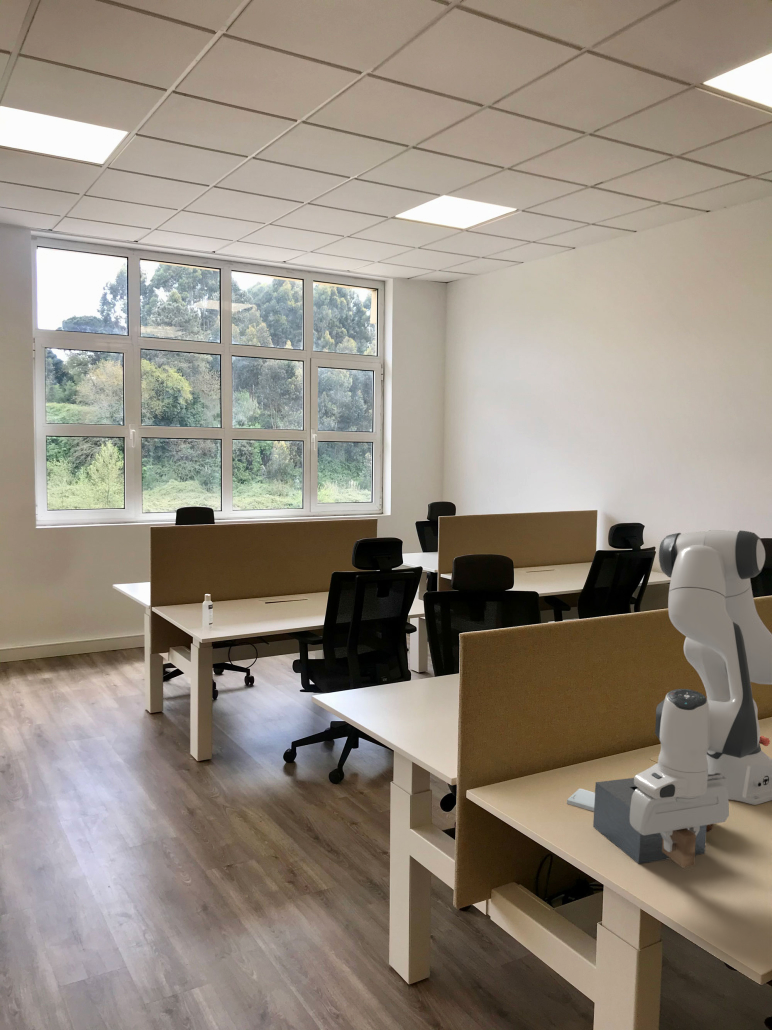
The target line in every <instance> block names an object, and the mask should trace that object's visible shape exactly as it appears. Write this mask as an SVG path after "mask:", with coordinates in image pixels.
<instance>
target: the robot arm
mask: <svg viewBox="0 0 772 1030" xmlns="http://www.w3.org/2000/svg"><path fill="white" fill-rule="evenodd" d="M657 557H658V563H659V566H660V569H661V571H662V573H663V574H664V575H666V576H667V577H668V578H670V582H669V589H668V599H667V600H668V603H667V608H668V611H667V612H668V617H669V620H670V623H671V624H672V625H673V627H674V628H675V629H676V630H677V631H678V632H680V633H681V634H682V635H683V636H685V639H684V643H683V654H684V656H685V658H686V660H687V662H688V663H689V664H690V666H692V667H693V669H694V670H695V671H696V673H697V674H698V675H699V677H700V679H701V682H702V684H703V686H704V689H705V693H706V696H705V695H704V694H703V693H701V692H699V691H696V690H694V689H690V688H689V689H687V688H678V689H676V688H675V689H673V690H670V691H669V692H667V693H666V695H665V698H664V699H663V700H662V701H660V703H658V704H657V705H656V708H655V709H656V710H655V728H654V729H655V730H654V734H655V735H656V737H657V739H658V740H659V742H660V752H659V754H658V757H657V758H658V759H657V763H655V764H653V765H652V766H650V767H648V768H646V769H645V770H643V771H641V772H638V773H637V774H635V776H634V777H633V778H634V785H635V786H637V787H638V788H637V789H636V790H635V791H634V793H633V795H632V799H631V806H630V824H631V826H632V827H633V828H634V829H635V830H636V831H637V832H639V833H640V834H642V835H650V834H656V833H660V834H661V836H662V838H663V839H664V849H665V850H666V851H668V852H672V851H676V842H675V841H673V840H672V839H671V837H670V836H671V835H672V834H673V830H679V829H685V828H688V830H690V831H691V832H692V833H694V834H695V835H696V836H697V834H698V832H699V830H700V826H703V825H709V824H713V825H714V824H720V823H725V822H726V821H727V819H728V818H729V816H730V807H729V806H730V805H729V804H730V803H729V802H730V801H729V800H732V801H737V802H741V803H746V804H749V805H753V806H754V805H759V804H763V803H766V802H770V801H772V758H771V757H770V756H769V755H768V754H766V753H765V752H764V751H763V750H762V748H761V745H763V746H764V747H768V746H769V745H770V743H771V740H770V738H768V737H765V736H764V735H761V727H760V722H759V718H758V709H759V708H758V706H757V702H756V701H755V699H754V697H753V690H752V683H755V684H757V685H772V633H771V632H770V631H769V628H767V627H766V625H765V624H764V622H763V621H762V619H761V618H760V616H759V614H758V611H757V608H756V603H755V600H754V595H753V594H754V593H753V590H752V589H753V588H752V583H751V578H755V577H757V576H758V575H759V574H760V573H761V572H762V570H763V567H764V565H765V561H766V550H765V547H764V544H763V542H762V538H761V537H760V536H758V535H757V534H756V533H755V532H753V531H748V530H739V531H734V530H717V529H713V530H707V531H693V532H685V533H681V532H678V533H672V534H669V535H666V536H664V538H663V539H662V540H661V541H660V543H659V548H658V556H657Z"/></svg>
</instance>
